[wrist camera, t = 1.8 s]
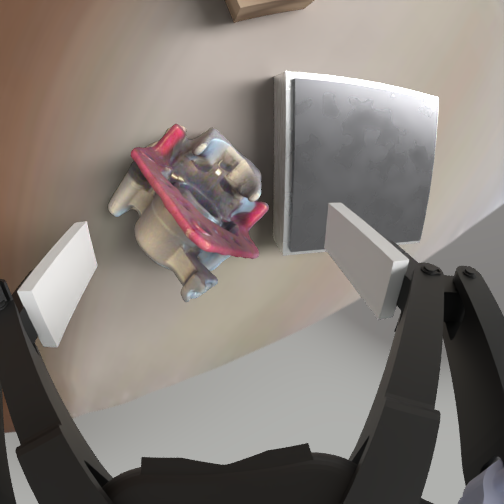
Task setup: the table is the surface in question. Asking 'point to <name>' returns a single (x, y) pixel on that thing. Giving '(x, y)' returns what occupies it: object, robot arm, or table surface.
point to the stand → (350, 157)
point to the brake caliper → (192, 204)
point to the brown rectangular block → (262, 7)
